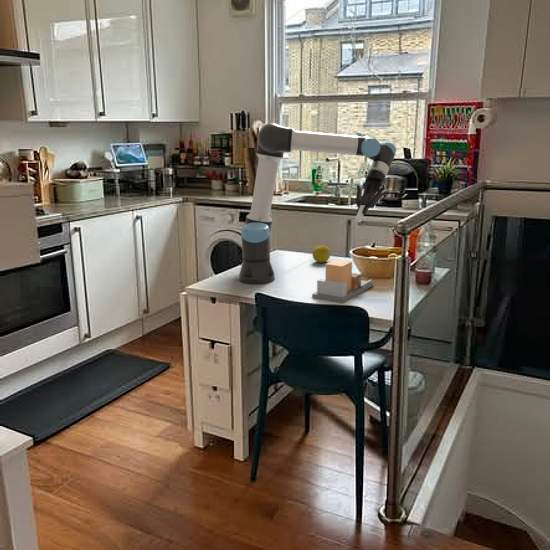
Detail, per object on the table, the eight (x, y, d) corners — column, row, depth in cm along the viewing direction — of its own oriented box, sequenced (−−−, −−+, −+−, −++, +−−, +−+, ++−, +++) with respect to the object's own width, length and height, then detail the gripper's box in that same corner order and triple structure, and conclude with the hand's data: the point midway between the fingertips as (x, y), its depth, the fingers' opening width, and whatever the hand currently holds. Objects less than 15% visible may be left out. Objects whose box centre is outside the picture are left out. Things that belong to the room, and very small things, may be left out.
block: (335, 286, 217) (335, 259, 214) (351, 289, 214) (351, 261, 211) (325, 291, 211) (325, 264, 208) (341, 294, 207) (342, 266, 204)
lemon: (320, 265, 254) (320, 248, 252) (308, 262, 260) (308, 246, 258) (335, 261, 261) (336, 245, 259) (323, 258, 267) (324, 242, 265)
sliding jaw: (338, 282, 222) (338, 270, 221) (360, 286, 217) (361, 274, 215) (332, 285, 218) (332, 273, 217) (355, 289, 213) (355, 277, 211)
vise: (344, 280, 230) (344, 265, 228) (373, 285, 223) (373, 270, 221) (312, 297, 209) (312, 281, 208) (342, 303, 202) (342, 286, 200)
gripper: (394, 181, 230) (375, 227, 221) (365, 179, 237) (346, 224, 228) (389, 169, 224) (370, 216, 216) (360, 168, 231) (340, 213, 223)
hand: (358, 220), depth 222 cm, fingers closed
